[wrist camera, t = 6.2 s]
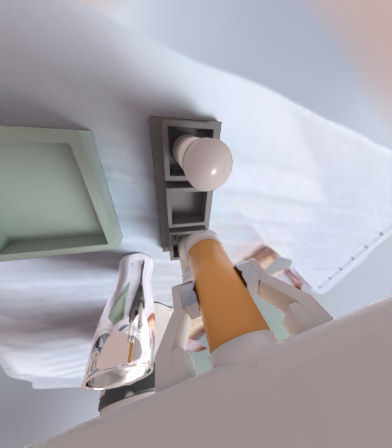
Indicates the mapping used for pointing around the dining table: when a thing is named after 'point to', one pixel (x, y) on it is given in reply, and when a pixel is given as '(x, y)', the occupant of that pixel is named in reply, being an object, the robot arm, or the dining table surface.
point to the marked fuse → (225, 304)
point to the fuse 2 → (203, 161)
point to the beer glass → (124, 329)
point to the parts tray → (53, 194)
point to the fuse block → (178, 180)
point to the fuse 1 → (184, 257)
